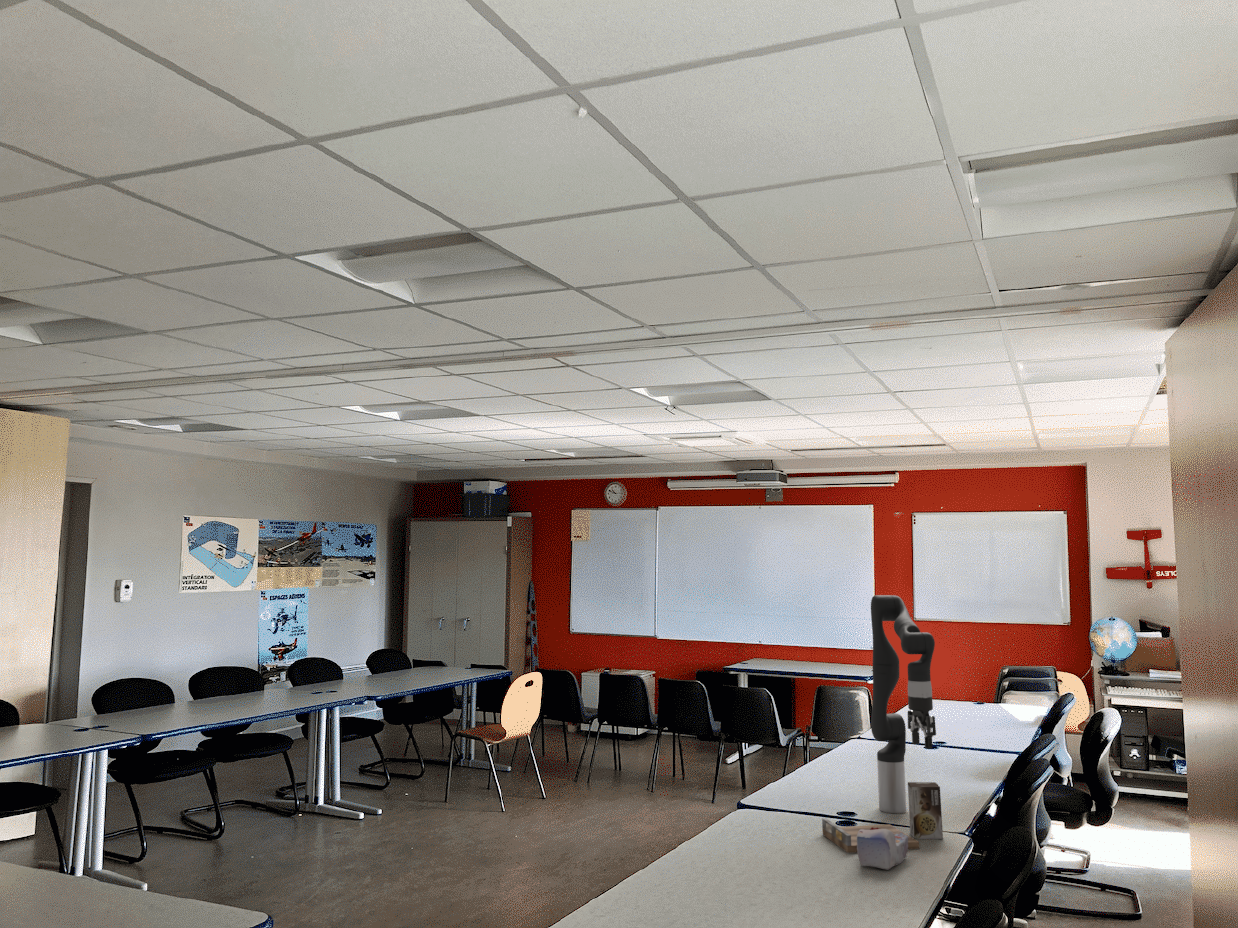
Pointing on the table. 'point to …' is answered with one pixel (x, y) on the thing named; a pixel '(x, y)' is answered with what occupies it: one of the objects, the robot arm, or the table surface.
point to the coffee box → (925, 810)
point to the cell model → (881, 848)
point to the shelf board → (848, 835)
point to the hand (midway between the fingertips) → (922, 746)
